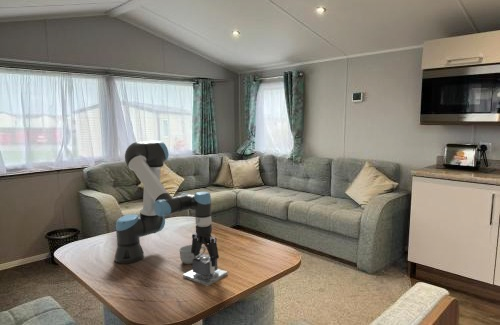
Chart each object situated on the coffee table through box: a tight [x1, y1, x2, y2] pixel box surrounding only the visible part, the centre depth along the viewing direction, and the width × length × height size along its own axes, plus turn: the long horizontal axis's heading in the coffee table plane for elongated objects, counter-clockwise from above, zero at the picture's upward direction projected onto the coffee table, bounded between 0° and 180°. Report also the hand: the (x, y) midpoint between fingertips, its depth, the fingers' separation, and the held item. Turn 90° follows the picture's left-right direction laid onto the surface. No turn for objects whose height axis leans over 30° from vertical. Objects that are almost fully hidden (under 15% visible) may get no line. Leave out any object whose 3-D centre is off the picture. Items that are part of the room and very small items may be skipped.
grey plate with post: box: [182, 256, 228, 287], centre depth 162 cm, size 16×14×10 cm
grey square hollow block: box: [191, 253, 219, 276], centre depth 162 cm, size 8×8×6 cm
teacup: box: [179, 244, 207, 265], centre depth 179 cm, size 14×11×8 cm
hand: (205, 270), depth 162 cm, fingers closed on grey square hollow block, 8 cm apart
